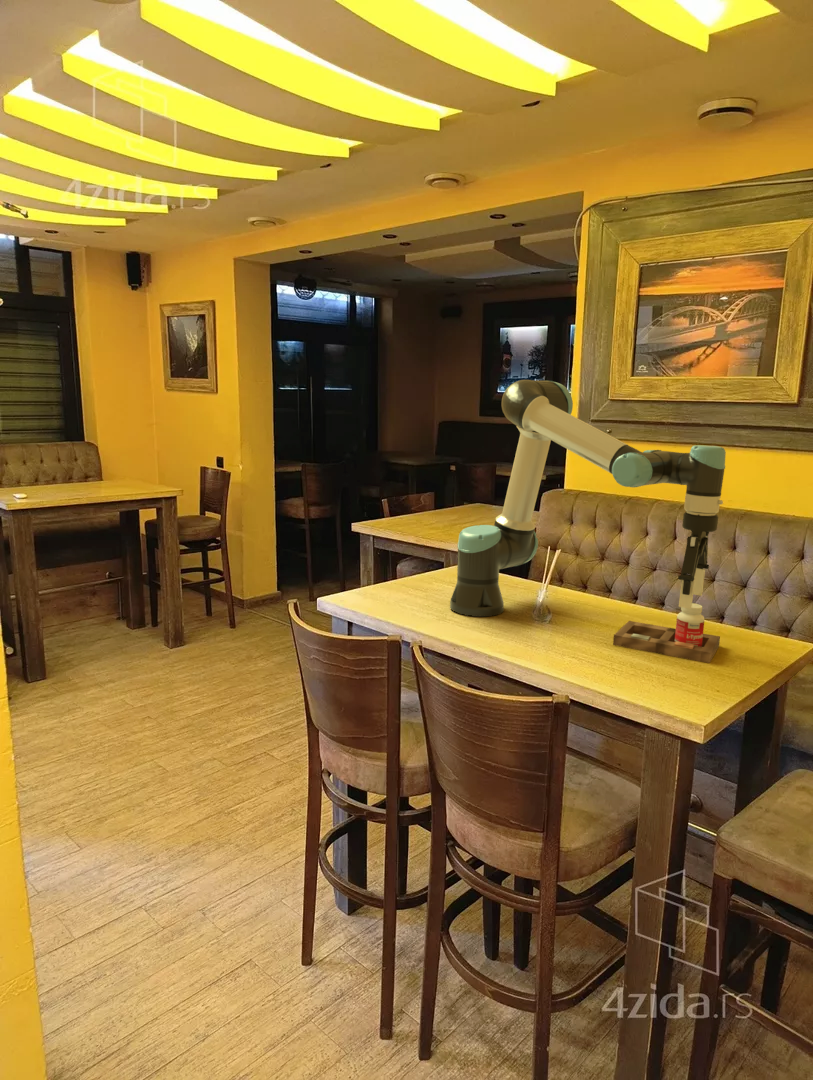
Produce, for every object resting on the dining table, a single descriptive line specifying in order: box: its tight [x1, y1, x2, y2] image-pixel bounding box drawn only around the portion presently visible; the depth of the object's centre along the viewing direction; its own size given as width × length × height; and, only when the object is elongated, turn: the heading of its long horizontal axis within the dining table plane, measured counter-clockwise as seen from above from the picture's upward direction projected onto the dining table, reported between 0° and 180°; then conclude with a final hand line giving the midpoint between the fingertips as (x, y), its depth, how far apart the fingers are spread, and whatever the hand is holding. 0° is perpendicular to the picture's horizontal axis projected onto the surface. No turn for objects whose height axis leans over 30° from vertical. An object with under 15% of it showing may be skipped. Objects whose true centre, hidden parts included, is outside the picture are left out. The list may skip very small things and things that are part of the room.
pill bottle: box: [675, 602, 705, 647], centre depth 168 cm, size 6×6×11 cm
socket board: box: [612, 620, 721, 664], centre depth 171 cm, size 22×14×3 cm, turn 58°
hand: (690, 600), depth 167 cm, fingers open, 13 cm apart
